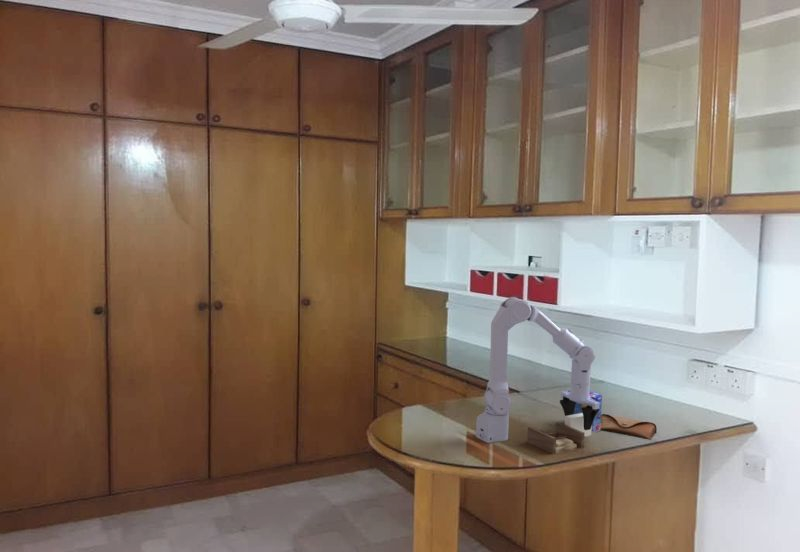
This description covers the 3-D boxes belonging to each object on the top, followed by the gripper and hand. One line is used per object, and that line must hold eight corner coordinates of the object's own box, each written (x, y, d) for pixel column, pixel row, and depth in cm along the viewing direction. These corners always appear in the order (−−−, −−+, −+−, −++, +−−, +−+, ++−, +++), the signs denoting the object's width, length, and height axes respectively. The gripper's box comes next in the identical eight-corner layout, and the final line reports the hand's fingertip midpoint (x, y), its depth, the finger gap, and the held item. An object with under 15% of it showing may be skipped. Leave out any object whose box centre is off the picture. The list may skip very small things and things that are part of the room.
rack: (552, 457, 182) (553, 438, 181) (527, 445, 191) (528, 427, 191) (583, 450, 187) (584, 432, 187) (557, 439, 197) (558, 422, 196)
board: (569, 440, 194) (570, 418, 194) (563, 438, 197) (565, 415, 196) (591, 436, 199) (592, 414, 198) (585, 434, 201) (586, 412, 200)
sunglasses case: (594, 429, 208) (597, 409, 210) (597, 434, 213) (601, 415, 216) (652, 440, 199) (655, 419, 201) (655, 445, 204) (657, 425, 207)
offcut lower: (555, 451, 183) (556, 448, 183) (547, 447, 186) (547, 444, 186) (576, 447, 187) (576, 444, 187) (567, 443, 190) (567, 440, 190)
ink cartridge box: (565, 427, 210) (567, 383, 208) (573, 423, 214) (575, 381, 212) (593, 434, 203) (595, 389, 202) (601, 430, 207) (603, 386, 206)
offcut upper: (557, 447, 184) (557, 444, 184) (550, 444, 187) (550, 440, 186) (573, 444, 187) (573, 441, 187) (565, 441, 190) (566, 437, 189)
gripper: (607, 387, 192) (605, 431, 193) (572, 376, 204) (570, 417, 206) (590, 389, 188) (588, 434, 190) (556, 378, 201) (554, 420, 202)
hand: (578, 425), depth 197 cm, fingers open, 7 cm apart
